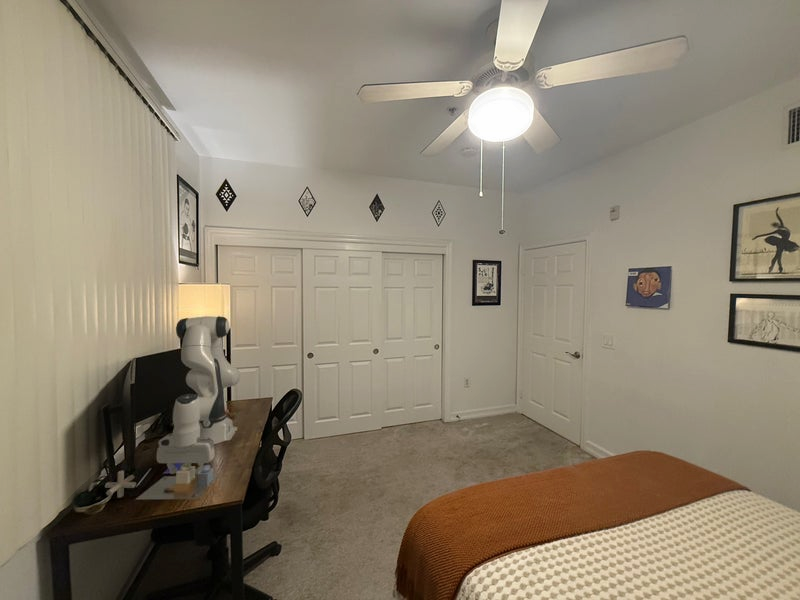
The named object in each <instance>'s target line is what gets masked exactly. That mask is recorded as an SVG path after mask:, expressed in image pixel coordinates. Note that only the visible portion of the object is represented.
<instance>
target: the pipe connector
mask: <svg viewBox="0 0 800 600" xmlns="http://www.w3.org/2000/svg"><path fill="white" fill-rule="evenodd" d="M134 479H135V475H134V474H130V475H129V476H127V477H126V478H125V470H119V471H118V472H117V481H115V482H113V481H107V482H106V483H105V485H104V488H105V489H108V490H107V491H106V492H105V495H106V496H111V495H113V494H114V493H115V492H117V493H116V495H117V498H123V497H124V495H125V491H124V490H125V489H134V488H135V487H136V486H137V482H135V481H133V480H134Z"/></svg>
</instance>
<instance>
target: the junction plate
mask: <svg viewBox="0 0 800 600" xmlns="http://www.w3.org/2000/svg"><path fill="white" fill-rule="evenodd" d="M218 476H219V475H218ZM218 476H217V475H214V479H213V480H212V481H211V482H210V483H209V484H208V485H197V487H196V488H195V489H194V490H193V491H192V492H191V493H190V494H189V495H174V491H164V489H165V488H174V484H175V483H176V475H173V476H172V475H171V476H168V475H167V476H162V478H160V479H159V480H157V482H155V483H154V484H153V485H151V486H150V487H149V488H148V489H146V490H145V491H143V492H142V494H140V495H139V496H138V497H137V498H135V500H196V499H197V498H199V496H200V495H201V494H202V493H203V492H204V491H205V490H206V489H207V488H208V487H209V486H210V485H211V484H212V483H213V482H214V481H215V480H216V479H217V478H218ZM195 477H196V475H195Z"/></svg>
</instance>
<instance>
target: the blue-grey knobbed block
mask: <svg viewBox="0 0 800 600" xmlns="http://www.w3.org/2000/svg"><path fill="white" fill-rule="evenodd" d="M214 469H215V468H214V467H211V465H210V464H204V465H203V466H202V471H201V473H200V474H195V476H196V477H197V485H208V484H209V483H210V482H211V481H212V480H213V479H214V476H215V475H214V473H215V470H214Z"/></svg>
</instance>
